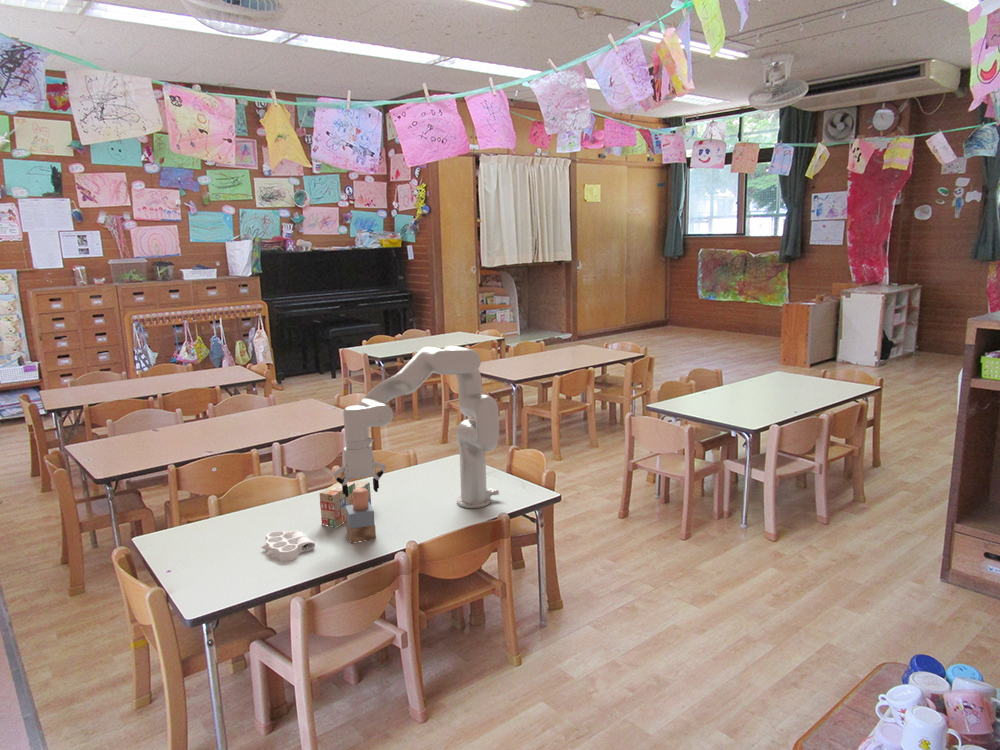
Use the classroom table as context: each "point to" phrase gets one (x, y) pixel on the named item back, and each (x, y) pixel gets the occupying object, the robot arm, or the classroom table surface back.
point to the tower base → (361, 533)
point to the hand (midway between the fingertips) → (361, 493)
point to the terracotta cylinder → (360, 499)
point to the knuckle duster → (287, 544)
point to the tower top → (359, 517)
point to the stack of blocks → (338, 502)
